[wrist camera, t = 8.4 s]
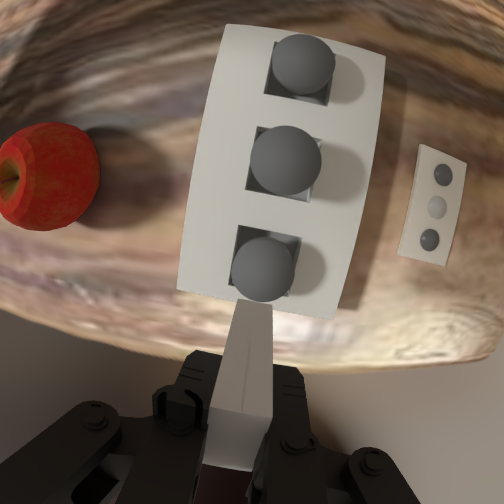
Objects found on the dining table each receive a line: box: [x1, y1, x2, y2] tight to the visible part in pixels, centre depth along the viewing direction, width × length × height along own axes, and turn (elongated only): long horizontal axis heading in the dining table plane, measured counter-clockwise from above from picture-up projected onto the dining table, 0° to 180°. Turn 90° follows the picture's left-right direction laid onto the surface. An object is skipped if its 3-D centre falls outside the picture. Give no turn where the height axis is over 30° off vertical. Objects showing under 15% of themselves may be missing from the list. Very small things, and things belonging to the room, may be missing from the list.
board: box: [177, 24, 386, 320], centre depth 23 cm, size 14×24×3 cm, turn 169°
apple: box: [0, 122, 100, 231], centre depth 21 cm, size 11×11×11 cm
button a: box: [272, 34, 336, 95], centre depth 19 cm, size 5×5×5 cm
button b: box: [250, 126, 322, 195], centre depth 20 cm, size 5×5×5 cm
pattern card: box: [397, 144, 467, 266], centre depth 24 cm, size 6×11×1 cm, turn 169°
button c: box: [231, 237, 295, 302], centre depth 23 cm, size 5×5×5 cm
